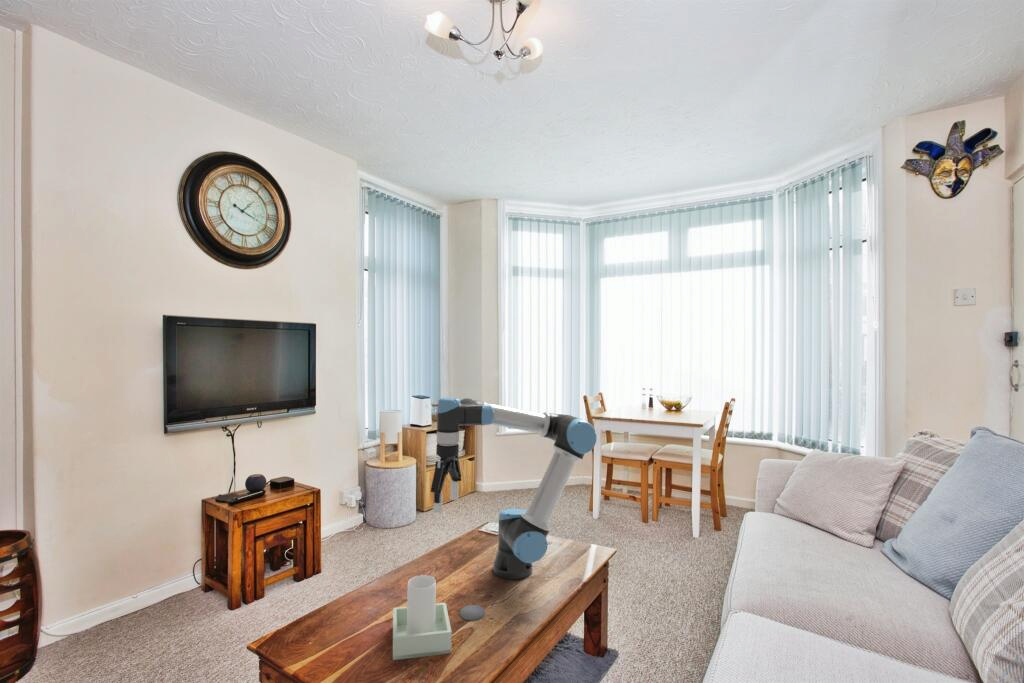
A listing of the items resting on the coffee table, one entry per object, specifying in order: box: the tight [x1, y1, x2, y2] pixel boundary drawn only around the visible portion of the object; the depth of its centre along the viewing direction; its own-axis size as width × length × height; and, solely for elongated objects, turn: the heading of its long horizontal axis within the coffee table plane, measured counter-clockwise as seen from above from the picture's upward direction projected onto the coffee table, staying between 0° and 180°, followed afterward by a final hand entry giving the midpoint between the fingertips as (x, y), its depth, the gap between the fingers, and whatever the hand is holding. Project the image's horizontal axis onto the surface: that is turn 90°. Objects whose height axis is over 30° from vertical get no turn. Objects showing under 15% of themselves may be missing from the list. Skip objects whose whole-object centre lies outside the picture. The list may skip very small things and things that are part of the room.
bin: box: [392, 602, 453, 661], centre depth 145 cm, size 16×16×6 cm
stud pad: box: [459, 604, 486, 621], centre depth 160 cm, size 8×8×1 cm
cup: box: [406, 574, 437, 635], centre depth 146 cm, size 8×8×16 cm
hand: (446, 505), depth 169 cm, fingers open, 13 cm apart
